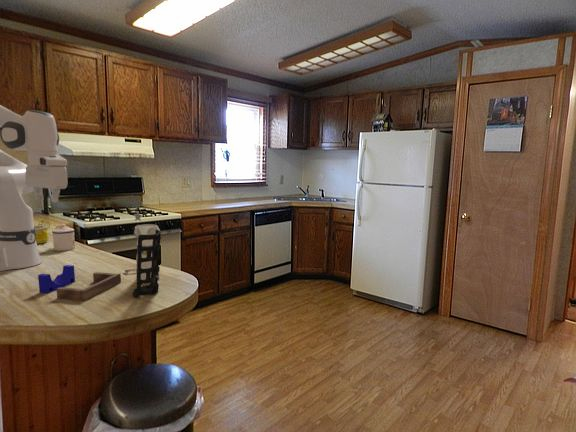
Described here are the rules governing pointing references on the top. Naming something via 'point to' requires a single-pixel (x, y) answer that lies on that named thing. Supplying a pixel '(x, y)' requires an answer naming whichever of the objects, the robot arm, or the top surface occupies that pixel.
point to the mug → (41, 233)
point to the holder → (149, 271)
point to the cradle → (90, 287)
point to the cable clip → (56, 280)
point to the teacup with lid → (63, 238)
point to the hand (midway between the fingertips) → (47, 201)
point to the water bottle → (145, 242)
